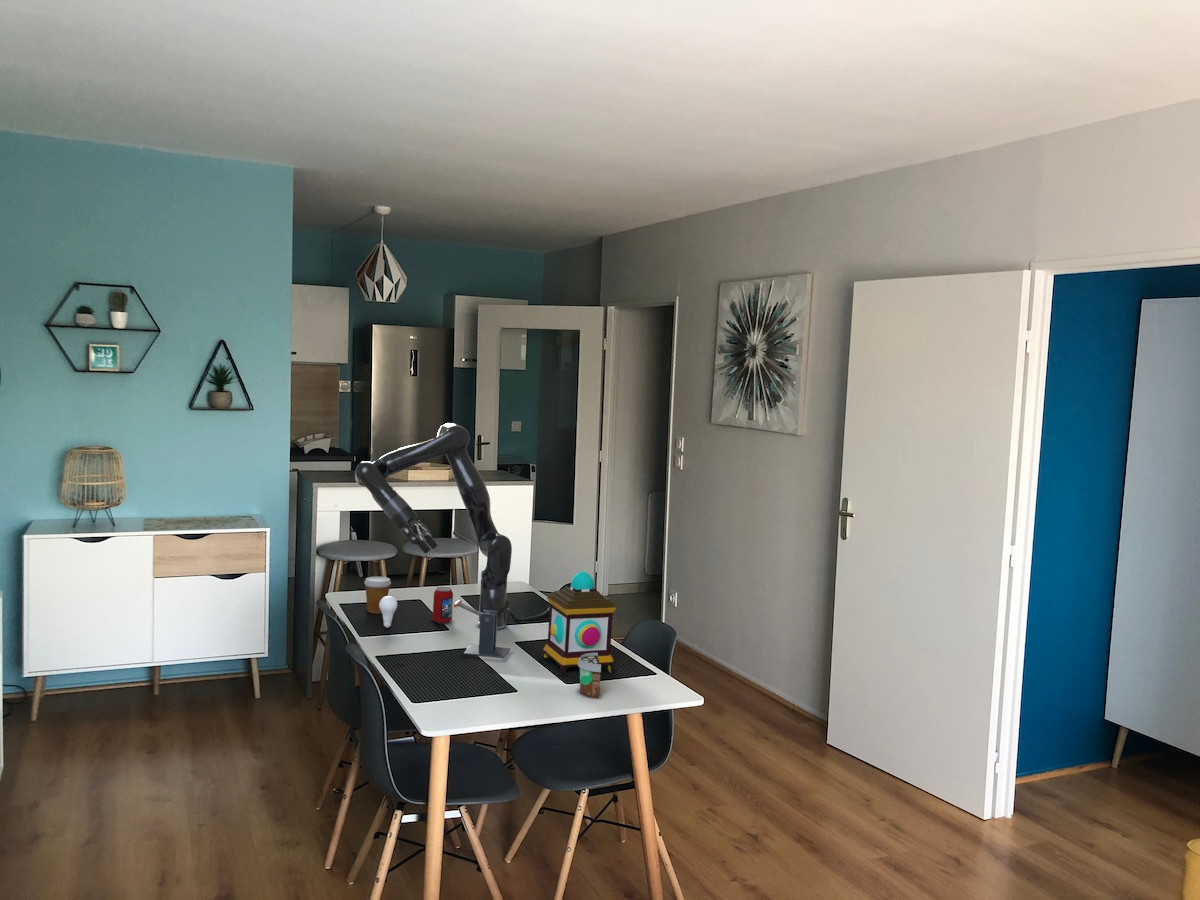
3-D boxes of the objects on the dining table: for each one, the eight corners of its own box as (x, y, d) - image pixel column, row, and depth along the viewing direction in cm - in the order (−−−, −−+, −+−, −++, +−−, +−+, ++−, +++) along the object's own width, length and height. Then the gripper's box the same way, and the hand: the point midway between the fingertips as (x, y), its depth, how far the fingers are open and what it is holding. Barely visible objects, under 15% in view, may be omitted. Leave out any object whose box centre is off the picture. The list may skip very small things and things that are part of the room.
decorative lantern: (536, 658, 298) (542, 565, 296) (594, 655, 306) (599, 564, 304) (559, 678, 280) (564, 579, 277) (619, 674, 287) (625, 577, 285)
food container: (574, 684, 275) (576, 651, 274) (595, 685, 275) (597, 652, 275) (577, 699, 263) (579, 664, 262) (599, 700, 263) (601, 665, 262)
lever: (452, 608, 296) (455, 601, 296) (456, 604, 301) (459, 597, 301) (489, 625, 295) (492, 618, 295) (493, 621, 300) (496, 614, 300)
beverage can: (447, 625, 331) (449, 591, 330) (429, 623, 332) (431, 589, 331) (454, 620, 337) (456, 587, 336) (436, 618, 339) (438, 585, 338)
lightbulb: (399, 626, 325) (401, 595, 324) (390, 630, 319) (391, 599, 318) (384, 624, 327) (385, 593, 326) (374, 628, 321) (376, 596, 320)
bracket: (462, 657, 294) (465, 614, 293) (470, 648, 304) (473, 606, 303) (503, 661, 293) (506, 618, 292) (510, 652, 303) (512, 610, 302)
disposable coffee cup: (376, 616, 337) (377, 583, 336) (357, 611, 342) (358, 578, 341) (395, 611, 345) (396, 579, 344) (376, 606, 350) (378, 575, 349)
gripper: (400, 507, 299) (434, 545, 298) (414, 501, 313) (446, 538, 313) (383, 522, 300) (417, 560, 299) (398, 516, 314) (430, 552, 313)
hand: (432, 549), depth 306 cm, fingers open, 8 cm apart
